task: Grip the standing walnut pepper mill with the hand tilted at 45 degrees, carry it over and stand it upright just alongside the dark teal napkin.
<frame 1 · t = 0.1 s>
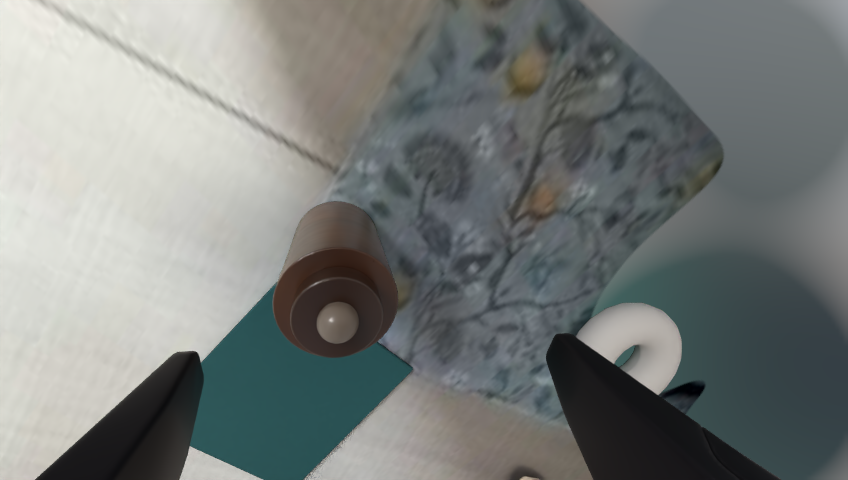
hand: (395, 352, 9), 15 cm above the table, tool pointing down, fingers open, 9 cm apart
donut: (608, 345, 32), on the table
napkin: (287, 392, 26), on the table
pepper mill: (337, 240, 24), on the table
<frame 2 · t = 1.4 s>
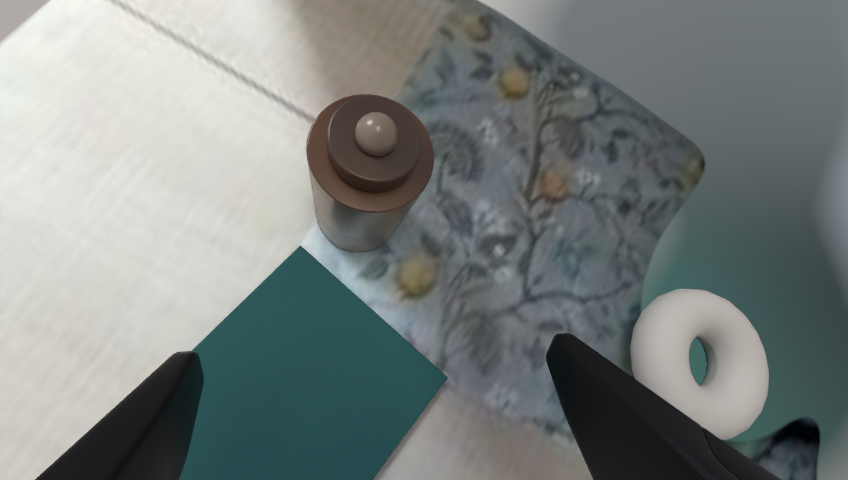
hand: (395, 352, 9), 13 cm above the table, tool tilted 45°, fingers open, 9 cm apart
donut: (674, 358, 27), on the table
napkin: (289, 409, 20), on the table
pepper mill: (358, 212, 23), on the table
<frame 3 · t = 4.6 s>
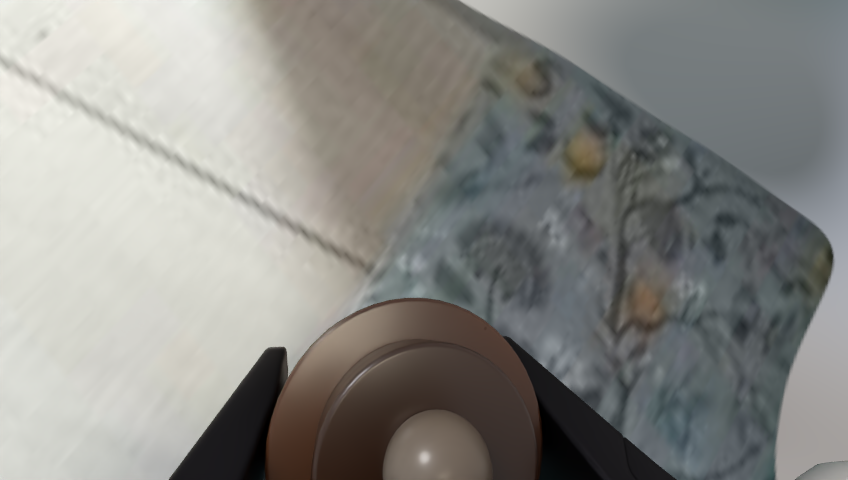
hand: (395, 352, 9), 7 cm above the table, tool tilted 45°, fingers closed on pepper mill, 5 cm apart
pepper mill: (369, 376, 15), on the table, touching gripper
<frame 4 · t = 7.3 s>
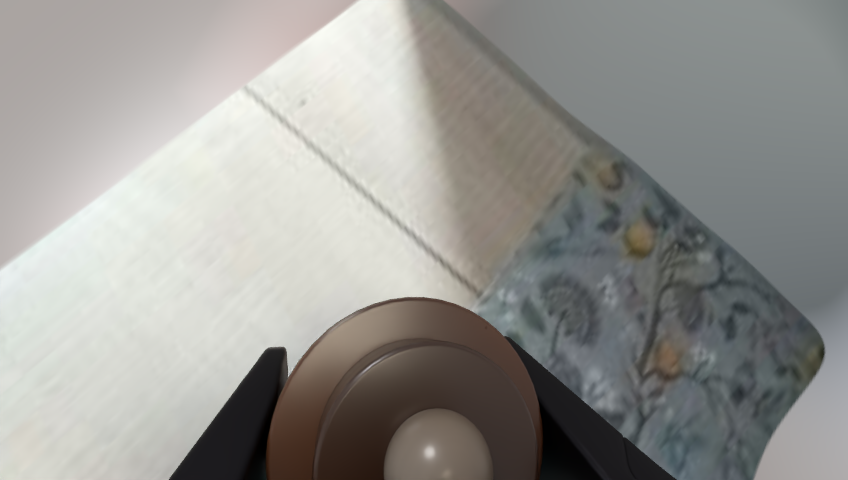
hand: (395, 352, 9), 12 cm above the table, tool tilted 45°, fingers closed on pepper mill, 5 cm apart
pepper mill: (370, 375, 15), point 6 cm above the table, touching gripper
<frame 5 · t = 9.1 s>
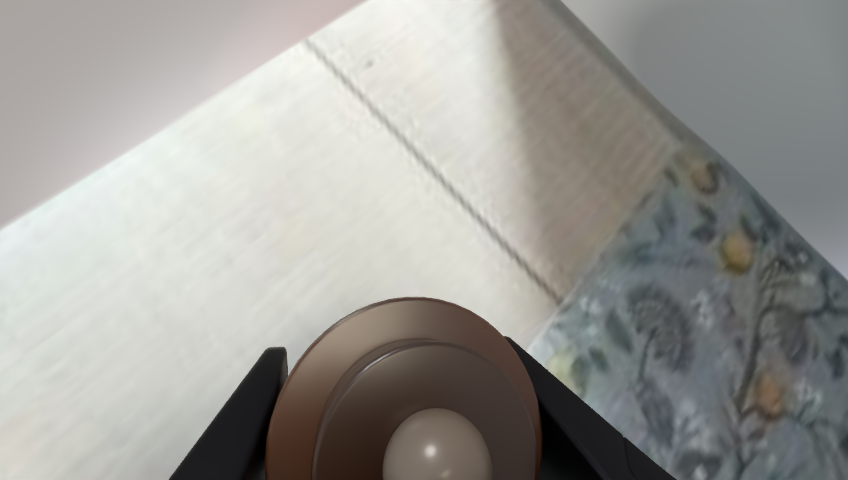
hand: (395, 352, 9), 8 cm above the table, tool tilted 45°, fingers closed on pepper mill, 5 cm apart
pepper mill: (369, 375, 15), point 2 cm above the table, touching gripper
when the fingers open (7 cm above the table, at t = 10.1 s): pepper mill stays where it is, on the table.
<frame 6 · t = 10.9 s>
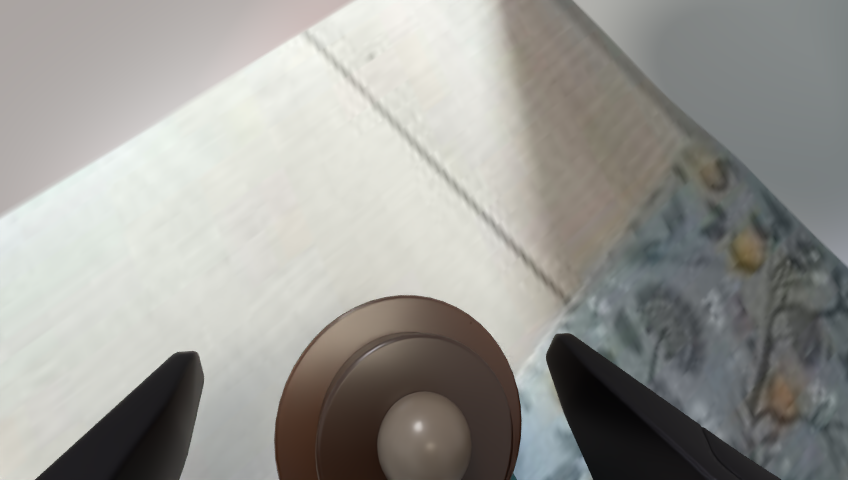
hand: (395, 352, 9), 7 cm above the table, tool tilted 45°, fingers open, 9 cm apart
pepper mill: (368, 370, 16), on the table
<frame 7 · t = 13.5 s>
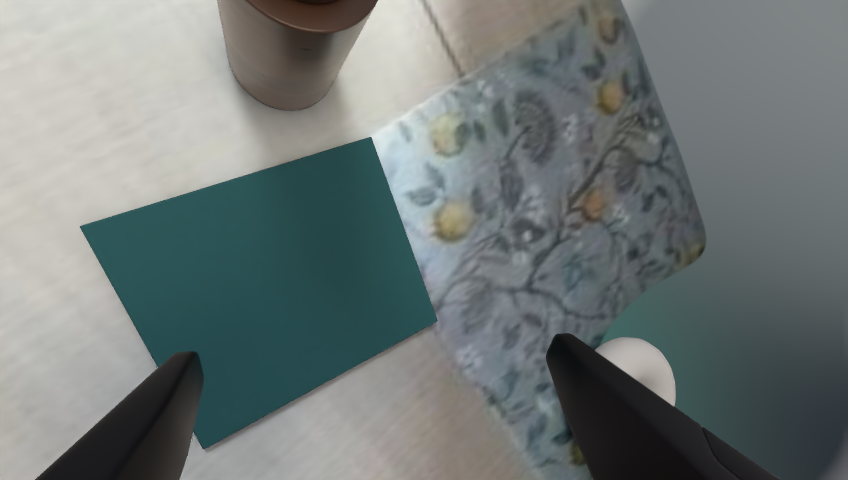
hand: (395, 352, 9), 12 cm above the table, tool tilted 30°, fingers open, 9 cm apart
donut: (603, 389, 31), on the table
napkin: (292, 281, 20), on the table
pepper mill: (283, 59, 19), on the table
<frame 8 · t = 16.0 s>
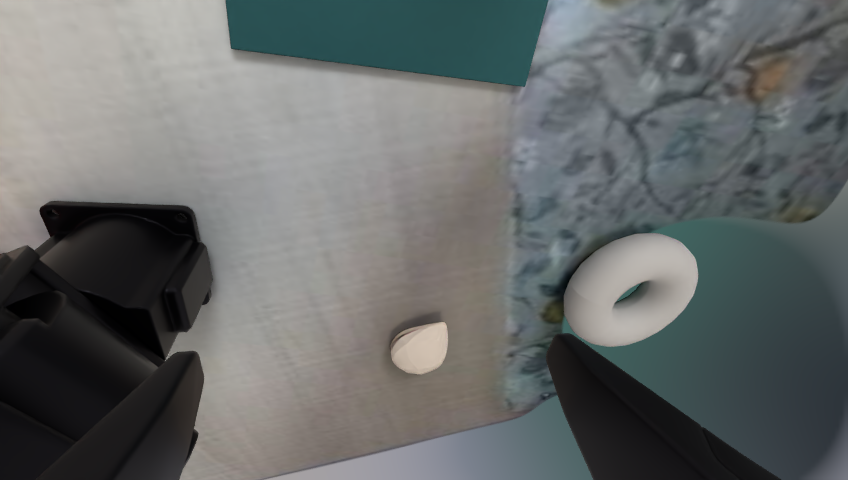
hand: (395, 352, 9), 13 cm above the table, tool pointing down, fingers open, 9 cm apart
donut: (613, 277, 29), on the table
cream clam shell: (420, 330, 28), on the table
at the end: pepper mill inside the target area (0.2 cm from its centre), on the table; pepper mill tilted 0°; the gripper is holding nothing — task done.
